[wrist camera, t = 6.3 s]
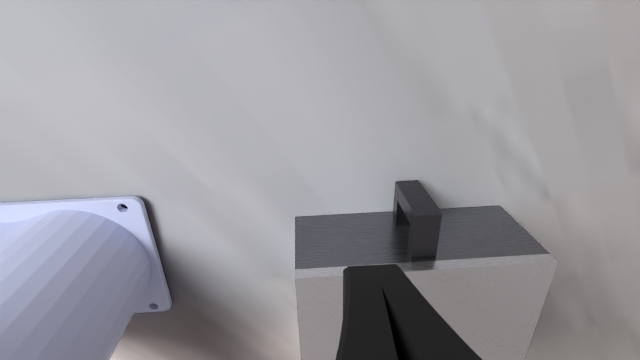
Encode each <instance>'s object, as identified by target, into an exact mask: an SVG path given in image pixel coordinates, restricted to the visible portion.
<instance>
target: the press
mask: <svg viewBox="0 0 640 360" xmlns="http://www.w3.org/2000/svg"><path fill="white" fill-rule="evenodd" d="M382 264H397V265H398V266H399V267H400V268H401V270H402V271H403V272H404V273H405V275H406V276H407V277H408V278H409V279H410V281H411V282H412V283H413V284H414V286H415V287H416V288H417V289H418V290H419V292H420V293H421V294H422V295H423V296H424V297H425V299H426V300H427V301H428V302H429V303H430V304H431V306H432V307H433V308H434V309H435V310H436V311H437V312H438V313H439V315H440V316H441V317H442V318H443V319H444V320H445V321H446V322H447V323H448V324H449V325H450V327H451V328H452V329H453V330H454V331H455V332H456V333H457V334H458V335H459V336H460V337H461V338H462V339H463V340H464V341H465V342H466V344H467V345H468V346H469V347H470V348H471V349H472V350H473V351H474V352H475V353H476V354H477V355H478V356H479V357H480V358H481V359H482V360H525V357H526V354H527V351H528V348H529V346H530V343H531V340H532V337H533V334H534V331H535V328H536V325H537V322H538V320H539V317H540V314H541V311H542V308H543V305H544V302H545V299H546V296H547V294H548V291H549V288H550V285H551V282H552V279H553V276H554V273H555V270H556V268H557V265H558V261H557V260H556V259H555V258H554V257H553V256H552V255H551V254H550V253H549V252H548V251H547V250H545V249H544V248H543V247H542V246H541V245H540V244H539V243H538V242H537V241H536V240H535V239H534V238H533V237H532V236H531V235H530V234H529V233H528V232H527V231H526V230H525V229H524V228H523V227H521V226H520V225H519V224H518V223H517V222H516V221H515V220H514V219H513V218H512V217H511V216H510V215H509V214H508V213H507V212H506V211H505V210H504V209H503V208H502V207H501V206H485V207H467V208H449V209H438V207H437V206H436V205H435V203H434V202H433V200H432V199H431V198H430V196H429V195H428V193H427V192H426V191H425V189H424V188H423V186H422V185H421V184H420V182H419V181H418V180H415V181H396V183H395V195H394V208H393V212H376V213H358V214H339V215H321V216H303V217H295V282H296V296H297V310H298V323H299V337H300V351H301V360H335V359H336V355H337V350H338V346H339V341H340V335H341V328H342V321H343V270H344V269H345V268H347V267H348V266H364V265H382Z"/></svg>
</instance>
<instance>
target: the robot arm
mask: <svg viewBox="0 0 640 360" xmlns="http://www.w3.org/2000/svg"><path fill="white" fill-rule="evenodd" d="M120 204H124V205H126V206H127V209H126V208H123V207H122V206H121V205H120ZM153 303H155V304H157V305H154V304H153ZM171 305H172V300H171V296H170V293H169V289H168V286H167V282H166V279H165V275H164V271H163V268H162V264H161V261H160V257H159V254H158V250H157V247H156V243H155V240H154V236H153V233H152V229H151V226H150V222H149V219H148V215H147V212H146V208H145V204H144V202H143V201H142V200H141V199H140V198H138V197H136V196H124V197H105V198H85V199H66V200H46V201H26V202H7V203H0V360H109V359H110V357H111V356H112V354H113V352H114V350H115V348H116V346H117V344H118V342H119V341H120V339H121V337H122V335H123V333H124V331H125V329H126V327H127V325H128V324H129V322H130V320H131V318H132V316H133V314H134V313H146V312H161V311H167V310H169V309H170V307H171ZM335 360H482V359H481V358H480V357H479V356H478V355H477V354H476V353H475V352H474V351H473V350H472V349H471V348H470V347H469V346H468V345H467V344H466V342H465V341H464V340H463V339H462V338H461V337H460V336H459V335H458V334H457V333H456V332H455V331H454V330H453V329H452V328H451V327H450V325H449V324H448V323H447V322H446V321H445V320H444V319H443V318H442V317H441V316H440V315H439V313H438V312H437V311H436V310H435V309H434V308H433V307H432V306H431V304H430V303H429V302H428V301H427V300H426V299H425V297H424V296H423V295H422V294H421V293H420V292H419V290H418V289H417V288H416V287H415V286H414V284H413V283H412V282H411V281H410V279H409V278H408V277H407V276H406V275H405V273H404V272H403V271H402V270H401V268H400V267H399V266H398V265H397V264H382V265H364V266H348V267H347V268H345V269H344V270H343V321H342V328H341V335H340V341H339V346H338V350H337V355H336V359H335Z"/></svg>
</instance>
